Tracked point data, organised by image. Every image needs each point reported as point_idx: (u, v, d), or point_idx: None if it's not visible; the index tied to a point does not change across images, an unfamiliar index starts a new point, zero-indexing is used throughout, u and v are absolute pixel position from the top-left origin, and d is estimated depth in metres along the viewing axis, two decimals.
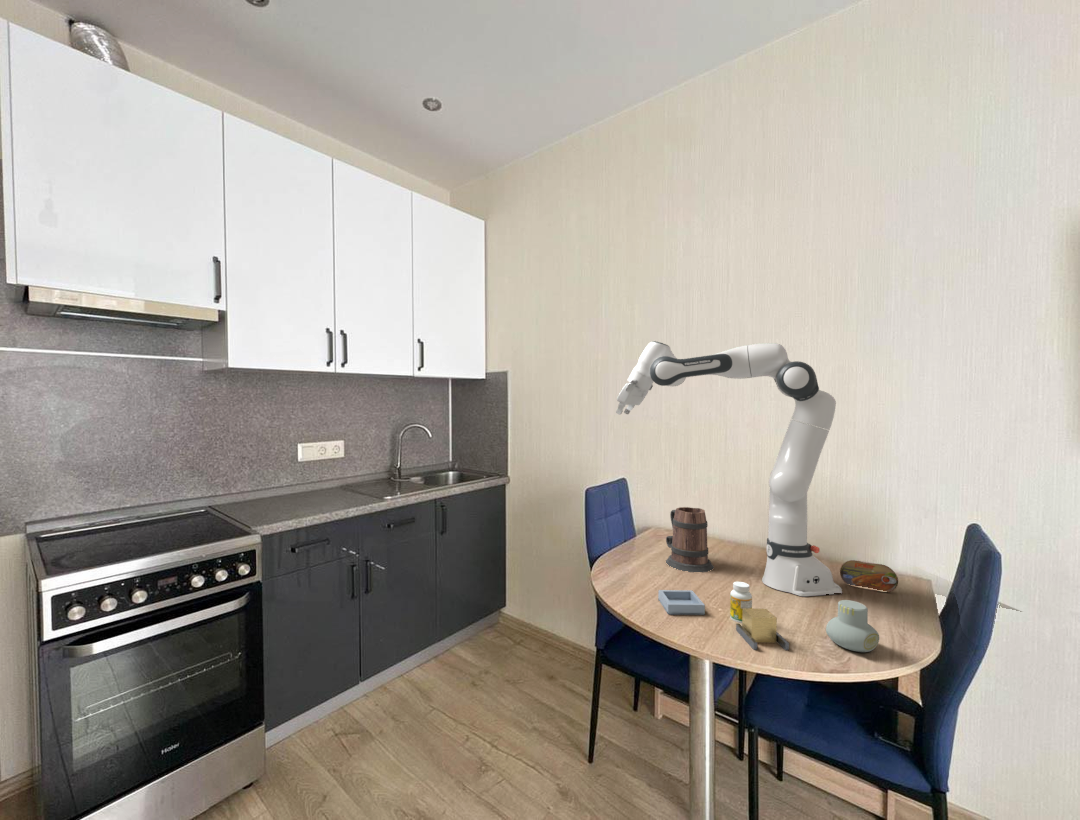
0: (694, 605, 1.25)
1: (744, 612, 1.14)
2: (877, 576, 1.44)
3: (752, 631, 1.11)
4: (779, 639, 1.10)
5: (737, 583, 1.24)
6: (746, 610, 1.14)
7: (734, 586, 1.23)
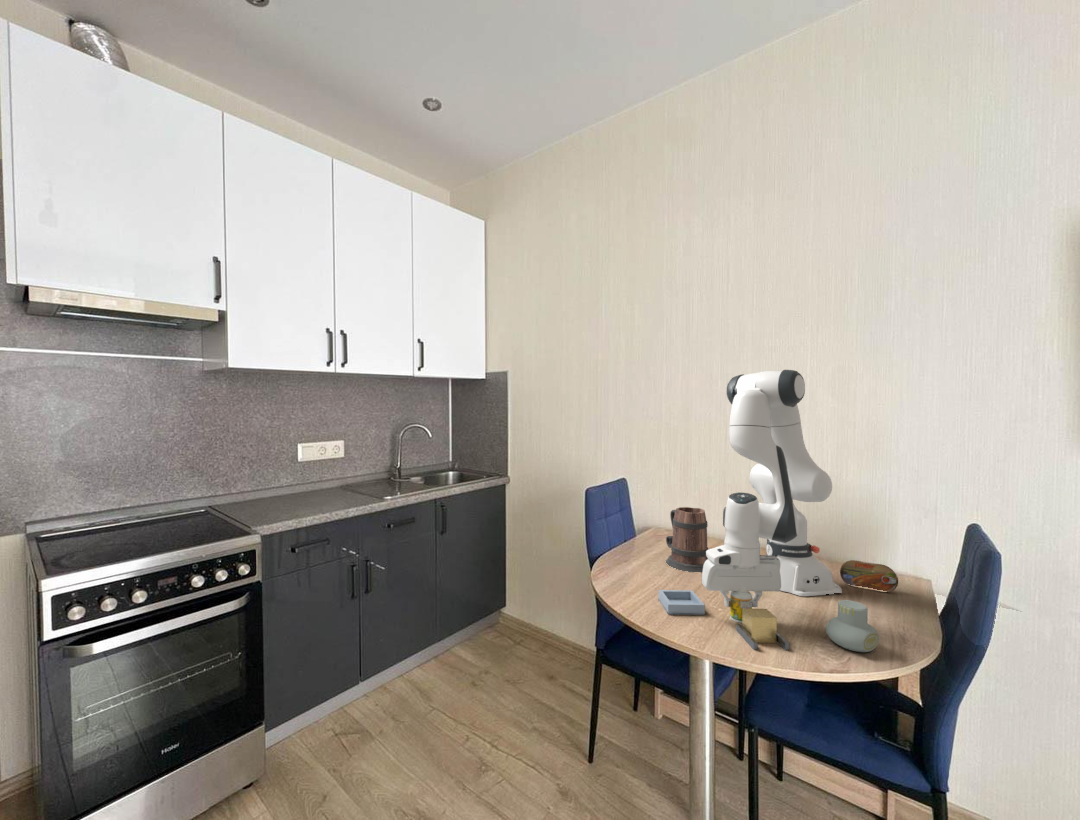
0: (694, 605, 1.25)
1: (744, 612, 1.14)
2: (877, 576, 1.44)
3: (752, 631, 1.11)
4: (779, 639, 1.10)
5: None
6: (746, 610, 1.14)
7: None
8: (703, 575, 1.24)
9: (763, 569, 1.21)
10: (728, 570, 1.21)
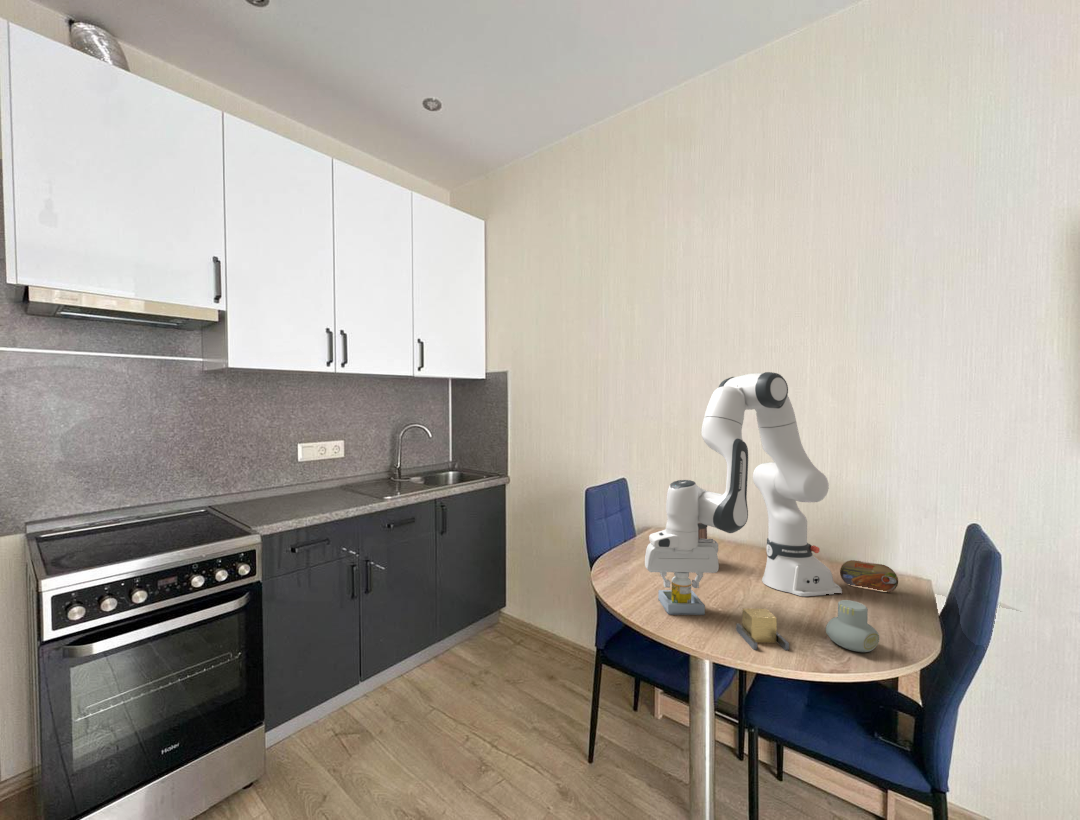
0: (694, 605, 1.25)
1: (744, 612, 1.14)
2: (877, 576, 1.44)
3: (752, 631, 1.11)
4: (779, 639, 1.10)
5: None
6: (746, 610, 1.14)
7: (675, 573, 1.30)
8: (646, 558, 1.30)
9: (701, 551, 1.28)
10: (668, 552, 1.28)
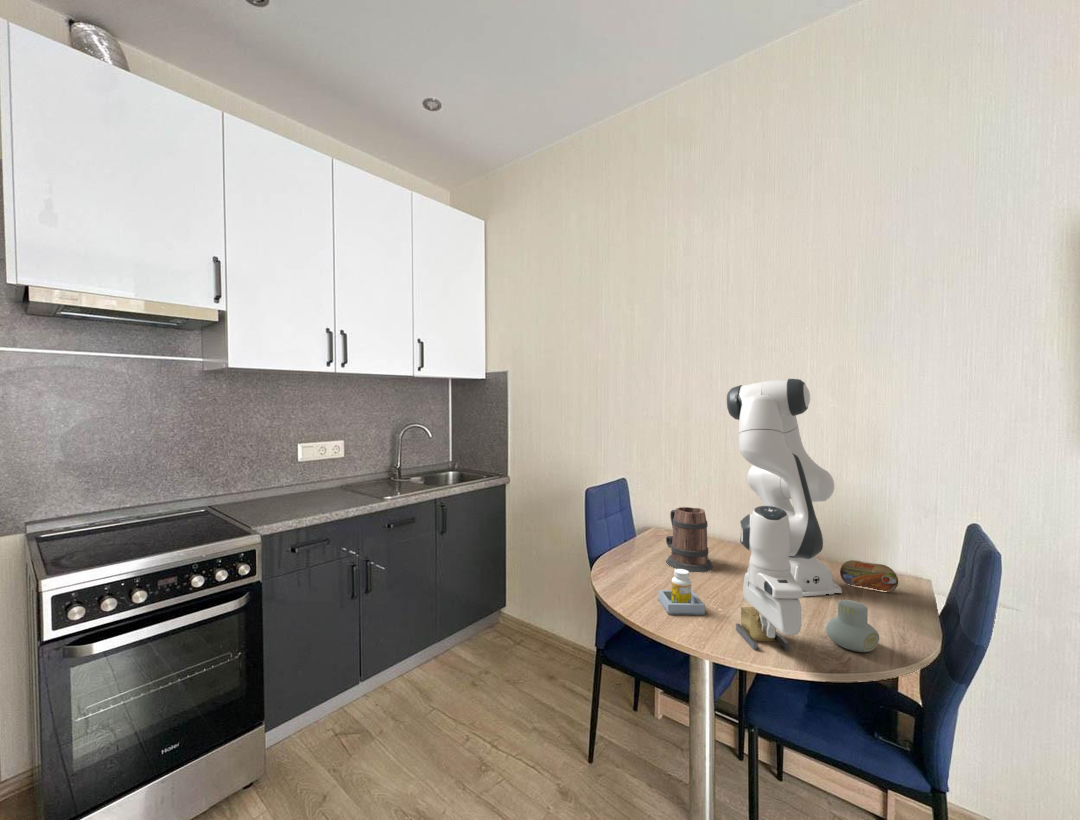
0: (694, 605, 1.25)
1: (743, 611, 1.15)
2: (877, 576, 1.44)
3: (751, 629, 1.11)
4: (779, 639, 1.10)
5: (678, 570, 1.30)
6: (745, 609, 1.15)
7: (675, 573, 1.30)
8: (789, 621, 0.99)
9: None
10: None
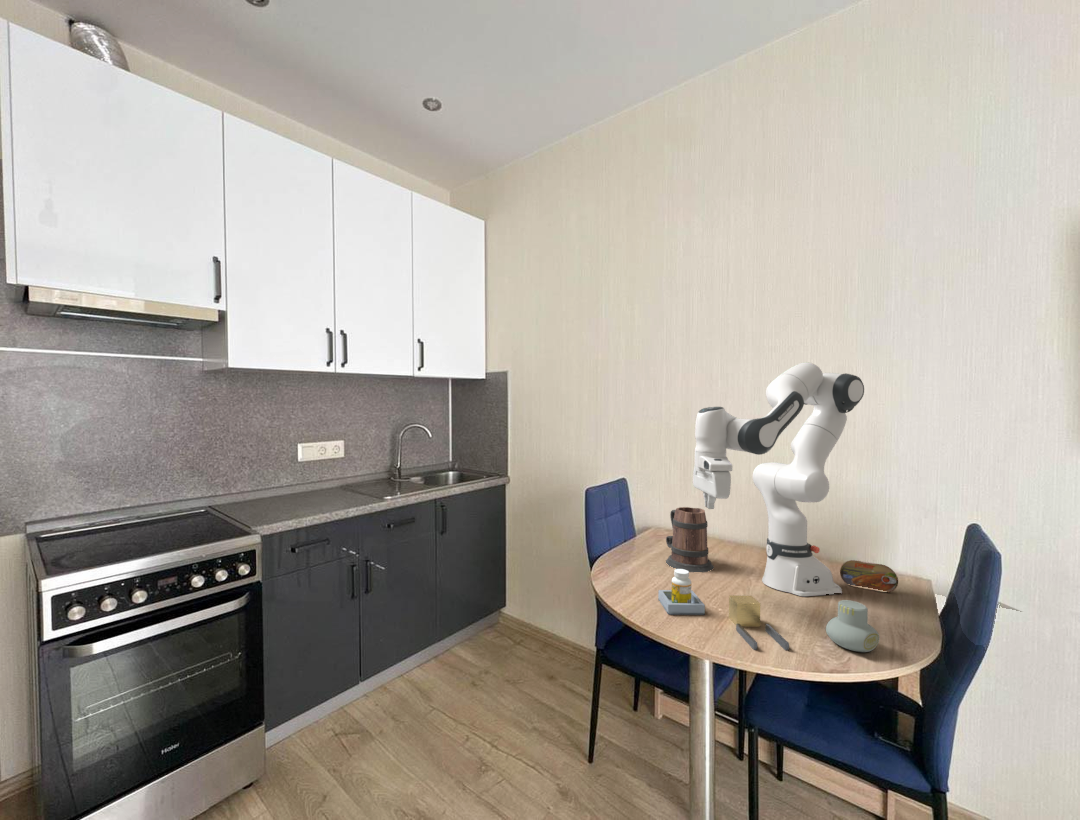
0: (694, 605, 1.25)
1: (730, 599, 1.22)
2: (877, 576, 1.44)
3: (738, 616, 1.19)
4: (779, 639, 1.10)
5: (678, 570, 1.30)
6: (732, 597, 1.22)
7: (674, 573, 1.30)
8: (721, 487, 1.26)
9: None
10: None
